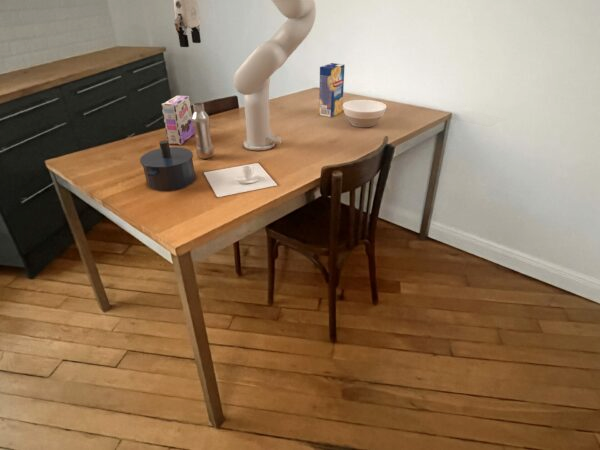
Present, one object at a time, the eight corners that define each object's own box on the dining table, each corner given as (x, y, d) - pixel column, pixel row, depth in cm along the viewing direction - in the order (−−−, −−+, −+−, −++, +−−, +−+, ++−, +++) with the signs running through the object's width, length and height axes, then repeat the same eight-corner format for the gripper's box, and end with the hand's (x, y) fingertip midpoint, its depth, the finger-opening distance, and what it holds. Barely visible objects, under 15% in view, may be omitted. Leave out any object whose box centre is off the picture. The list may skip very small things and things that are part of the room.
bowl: (365, 134, 173) (366, 114, 168) (332, 123, 185) (333, 105, 181) (393, 124, 183) (395, 105, 179) (361, 114, 196) (362, 97, 191)
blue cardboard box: (342, 111, 200) (344, 64, 189) (331, 117, 193) (332, 68, 181) (330, 109, 204) (331, 63, 192) (319, 114, 196) (319, 67, 184)
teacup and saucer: (237, 186, 132) (236, 175, 130) (231, 177, 138) (229, 166, 136) (263, 181, 135) (262, 170, 132) (255, 172, 141) (254, 161, 139)
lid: (201, 152, 138) (199, 134, 134) (178, 172, 124) (174, 153, 121) (157, 148, 141) (154, 131, 138) (130, 168, 127) (125, 149, 124)
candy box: (181, 145, 164) (174, 104, 155) (168, 144, 165) (160, 103, 156) (195, 133, 175) (189, 95, 166) (182, 133, 176) (176, 94, 167)
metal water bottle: (217, 154, 155) (211, 102, 144) (208, 161, 149) (201, 107, 139) (203, 152, 157) (195, 100, 146) (193, 159, 151) (185, 105, 141)
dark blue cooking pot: (206, 169, 143) (202, 148, 139) (177, 197, 126) (173, 173, 122) (166, 165, 147) (161, 144, 142) (133, 192, 129) (127, 169, 125)
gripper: (181, -8, 131) (189, 49, 140) (204, -11, 145) (210, 41, 155) (160, -8, 133) (169, 48, 142) (184, -11, 147) (192, 41, 156)
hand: (190, 44), depth 148 cm, fingers open, 9 cm apart
